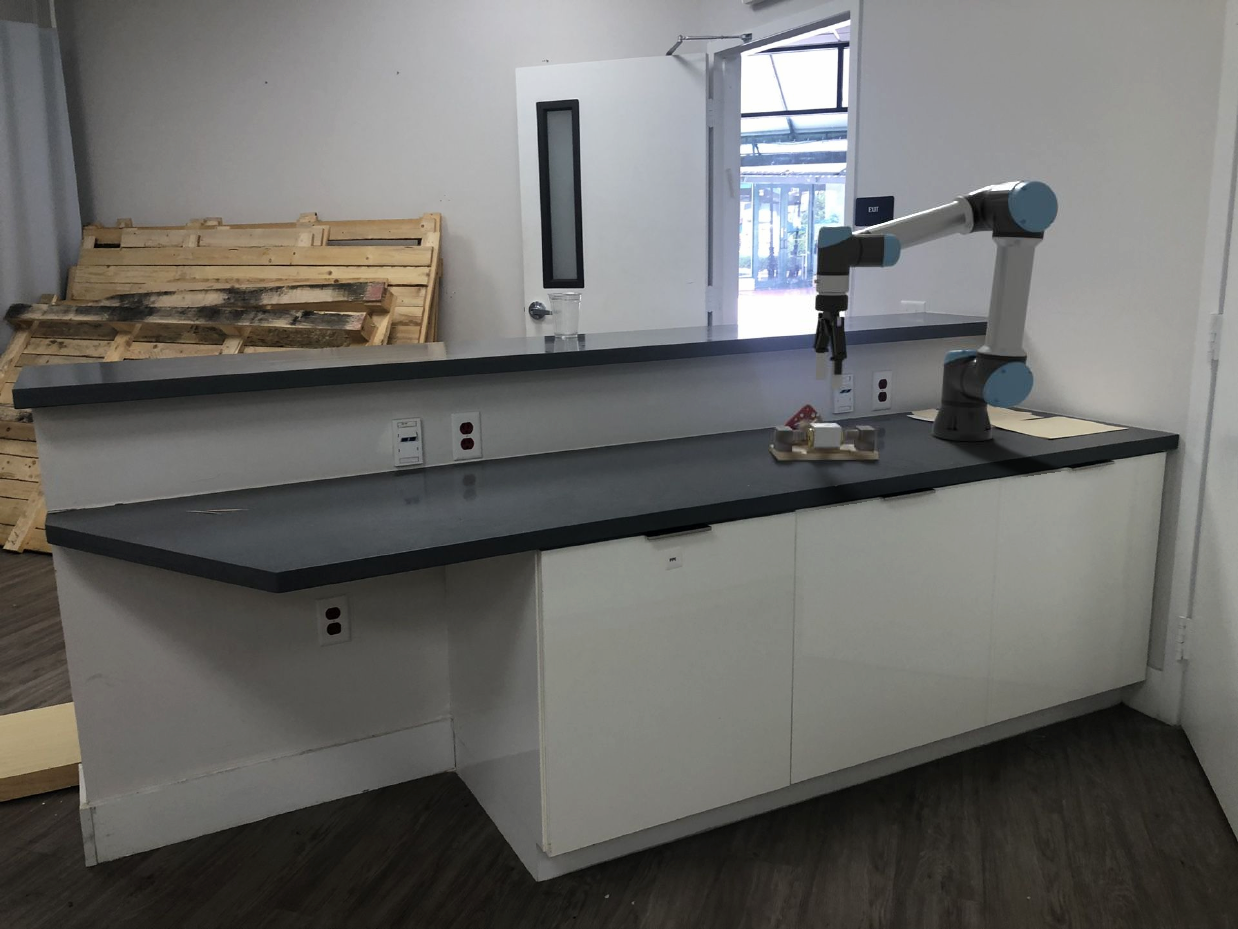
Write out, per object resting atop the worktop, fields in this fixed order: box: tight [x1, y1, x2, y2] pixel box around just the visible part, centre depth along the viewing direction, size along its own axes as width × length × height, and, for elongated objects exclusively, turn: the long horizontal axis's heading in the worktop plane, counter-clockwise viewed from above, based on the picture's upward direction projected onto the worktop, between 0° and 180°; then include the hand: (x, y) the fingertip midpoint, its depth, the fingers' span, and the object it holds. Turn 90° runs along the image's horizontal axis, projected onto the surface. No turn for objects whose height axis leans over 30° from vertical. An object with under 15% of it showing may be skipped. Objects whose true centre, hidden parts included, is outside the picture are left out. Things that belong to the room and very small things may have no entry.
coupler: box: [806, 422, 845, 450], centre depth 233 cm, size 8×5×6 cm, turn 94°
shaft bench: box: [769, 425, 880, 461], centre depth 234 cm, size 24×10×7 cm, turn 93°
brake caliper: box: [784, 403, 827, 445], centre depth 242 cm, size 11×11×12 cm
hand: (827, 384), depth 231 cm, fingers open, 13 cm apart
